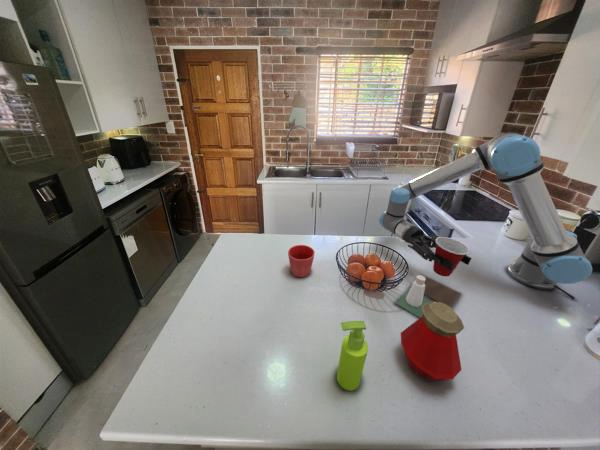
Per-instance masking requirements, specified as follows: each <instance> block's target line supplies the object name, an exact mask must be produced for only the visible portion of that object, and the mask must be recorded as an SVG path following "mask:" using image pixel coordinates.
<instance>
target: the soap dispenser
mask: <svg viewBox="0 0 600 450" xmlns="http://www.w3.org/2000/svg"><path fill="white" fill-rule="evenodd" d="M340 327H341V330H342V331H343V332H346V331H349V334H348V335H345V336H344V338H343V339H342V343H341V349H340V354H339V361H338V367H337V373H336V381H337V383H338V385H339V386H340V387H341V388H342V389H344V390H346V391H349V392H350V391H355V390H356V389H358V388H359V386H360V383H361V381H362V375H363V371H364V367H365V363H366V358H367V354H368V351H369V346H368V343H367V341H366V340H365V337H366V335H365V332H364V331H363V330H365V331H366V330H367V326H366V323H365V320H347V321H342V322H340Z"/></svg>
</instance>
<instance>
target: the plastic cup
mask: <svg viewBox="0 0 600 450" xmlns="http://www.w3.org/2000/svg"><path fill="white" fill-rule="evenodd" d="M437 237H438V238H436V247H435V248H434V253H435V254H436V253H437V254H438V255H439V256H441V257H443V258H445V259H447V260H449V261H450V262H452V263H454V264H453V267H452V270H450V271H449V270H448V269H446V268H445V267H443V266H442V265H440V264H439V263H437V262H435V261H434V260H433V265H432V266H433V267H432V268H433V269H432V271H433V273H435V274H436V275H438V276H441V277H450V276H451V275H452V273H453V272H454V271H455V269H456V268H457V267H458V265H459V264H460V262H461V260H462V258H463V257H464V256H465V255H467V256H468V255H469V254H470V252H471V249H470V248H469V246H468V245H466V244H465V243H464V242H461V241H460V240H457V239H455V238H452V237H448V236H437ZM435 254H434V255H435Z"/></svg>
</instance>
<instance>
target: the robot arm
mask: <svg viewBox="0 0 600 450" xmlns="http://www.w3.org/2000/svg"><path fill="white" fill-rule="evenodd" d="M489 169H493V171H494V173H495V176H496V177H497V179H498V182H499V183H500V184H503V185H506V186H507V187H508V189H509V192H510V195H511V197H512V198H513V201H514V203H515V204H516V207H517V209H518V211H519V213H520V216H521V217H522V220H523V222H524V224H525V226H526V228H527V230H528V232H529V235H530V237H529V239H528V241H527V243H526V245H525V246H524V248H523V250H522V252H521V255H520V256H519V257H518V258H516V259H514V260H513V261H511V263H510V264H509V266H508V267H507V271H506V272H507V273H508V275H509V276H511V278H513V279H514V280H516V281H517V282H519V283H521V284H523V285H525V286H527V287H531V288H534V289H538V290H544V291H545V290H546V291H548V290H552V289H554V288H555V289H557V290H558V291H560V292H562V293H563V294H565V295H567V296H568V297H569V298H571V299H573V300H574V299H575V298H576V297H575V296H574V295H572V294H571V293H569V292H567V291H566V290H564V289H562V288H561V287H559V286H557V285H556V284H557V283H558V284H562V285H563V284H564V285H569V284H577V283H580V282H583V281H584V280H587V278H588V277H590V276H591V274H592V273H593V266H592V263H591V261H590V260H589V259H588V258H587V257H586V256H585V255H584V252H583V250H582V248H581V246H580V243H579V241H578V235H577V234H576V233H574V232H572V231H569V230H566V228H565V226H564V223H563V221H562V219H561V217H560V215H559V213H558V211H557V208H556V206H555V204H554V202H553V200H552V197H551V194H550V192H549V190H548V188H547V186H546V183H545V181H544V179H543V177H542V175H541V173H542V171H543V170H544V169H545V165H544V163H543V161H542V159H541V149H540V146H539V144H538V143H537V141H536V140H534V139H533V138H531V137H529V136H527V135H524V134H523V135H522V134H521V133H517V132H506V133H505V132H504V133H502V134H499V135H497V136H495V137H493V138H492V139H489V140H488V141H486V142H484V143H482V144H481V145H478V146H476V147H475V148H473V150H472V152H470V153H468V154H465V155H463V156H462V157H459V158H457V159H455V160H453V161H451V162H449V163H446V164H445V165H442V166H439V167H438V168H436V169H434V170H432V171H430V172H428V173H425V174H423V175H421V176H419V177H417V178H415V179H413V180H410V181H409V182H407V183H401V184H399V185H398V186H397V187H393V188H392V189H391V191H390V194H389V199H388V203H387V210H386V211H383V213H381V215H380V217H379V219H378V223H379V225H380V226H381V227H383V229H384V230H386V231H388V232H390V233H392V234H393V235H395V236H396V237H398V238H399V239H400V240H402V241H404V242H405V243H407V247H408V248H410V249H412V250H413V251H414V252H415V253H416V254H418V255H419V256H420V257H421V258H422V259H424V260H425V261H427V260H428V262H431V263H432V262H434V261H435V262H437V263H439V264H440V265H442V266H443V267H445V268H446V269H448V270H449V271H450V270H452V267H453V264H454V263H452V262H450V261H449V260H447V259H445V258H443V257H441V256H439V255H438V254H437V253H436V254H435V251H434V250H433V248H434V249H436V248H435V247H436V238H438V237H439V236H437V235H435V234H432V235H431V236H429V235H426V234H425V233H424V230H423V229H421V228H420V227H418V226H416V225H414V224H413V223H411V222H409V221H407V220H405V219H404V218H405V216H406V211H407V208H408V204H409V202H410V200H413V199H415V198H418V197H420V196H422V195H424V194H427V193H429V192H431V191H433V190H436V189H438V188H441V187H443V186H445V185H447V184H450V183H452V182H454V181H457V180H459V179H462V178H464V177H467V176H469V175H471V174H474V173H475V172H478V171H480V170H481V171H487V170H489ZM471 260H472V257H470V256H468V254H467V255H465V256H464V257H463V258H462V260H461V261H460V262H461V263H462V264H465V265H466V266H469V265H470V262H471Z"/></svg>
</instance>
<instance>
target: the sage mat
mask: <svg viewBox="0 0 600 450" xmlns="http://www.w3.org/2000/svg"><path fill="white" fill-rule="evenodd" d="M409 290H410V289H408V290H407V291H406V292H405V293H404V295H402V296H401V297H400V299H398V300H397V301H396V303H395V305H396V306H398V307H400V308H402V309H403V310H405V311H407V312H408V313H409V314H411V315H413V316H414V317H416V318H418V319H419V318H421V317H422V316H423V312H422V305H424V304H425V303H426V302H434V300H432V299H430V298H428V297H426V296H423V301H422V305H420V306H419V307H414V306H411V305H410V304H408V303H407V301H406V297H407V295H408V293H409Z"/></svg>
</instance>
